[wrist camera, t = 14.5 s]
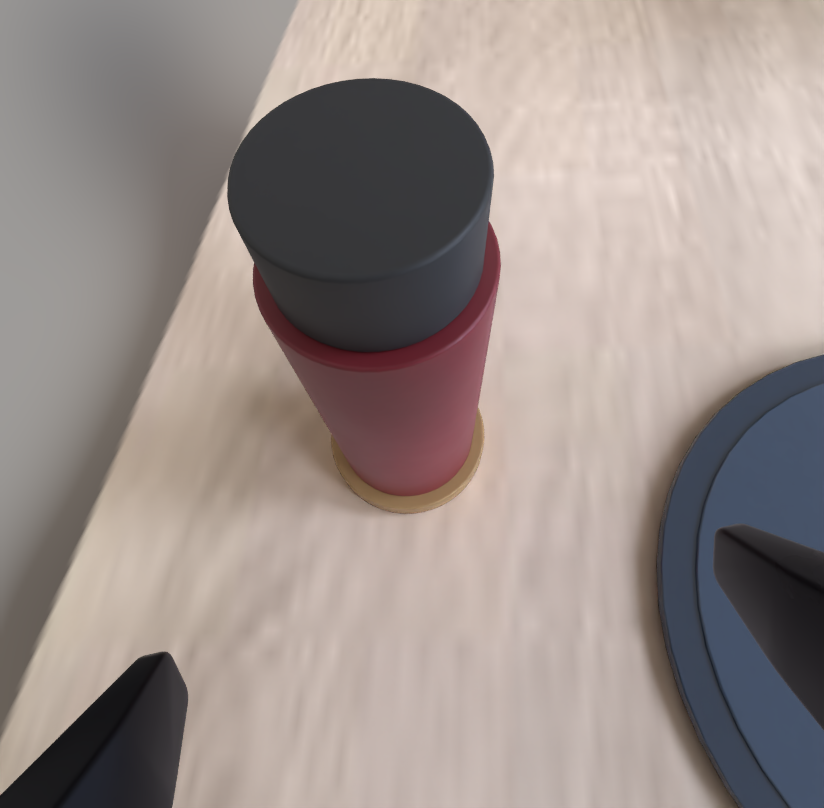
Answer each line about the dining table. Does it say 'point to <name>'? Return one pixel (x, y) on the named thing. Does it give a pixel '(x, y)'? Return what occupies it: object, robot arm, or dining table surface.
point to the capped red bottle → (377, 276)
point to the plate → (709, 606)
